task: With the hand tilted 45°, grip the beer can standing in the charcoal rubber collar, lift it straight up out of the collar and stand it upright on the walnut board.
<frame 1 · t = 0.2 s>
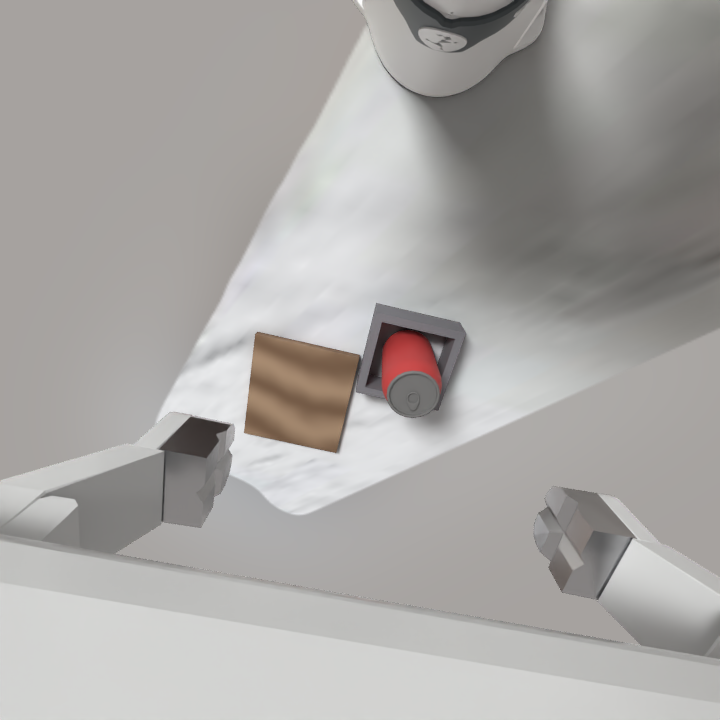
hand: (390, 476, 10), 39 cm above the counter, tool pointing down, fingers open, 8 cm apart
walnut board: (299, 394, 54), on the counter
can collar: (406, 351, 50), on the counter
beer can: (406, 350, 50), resting in can collar
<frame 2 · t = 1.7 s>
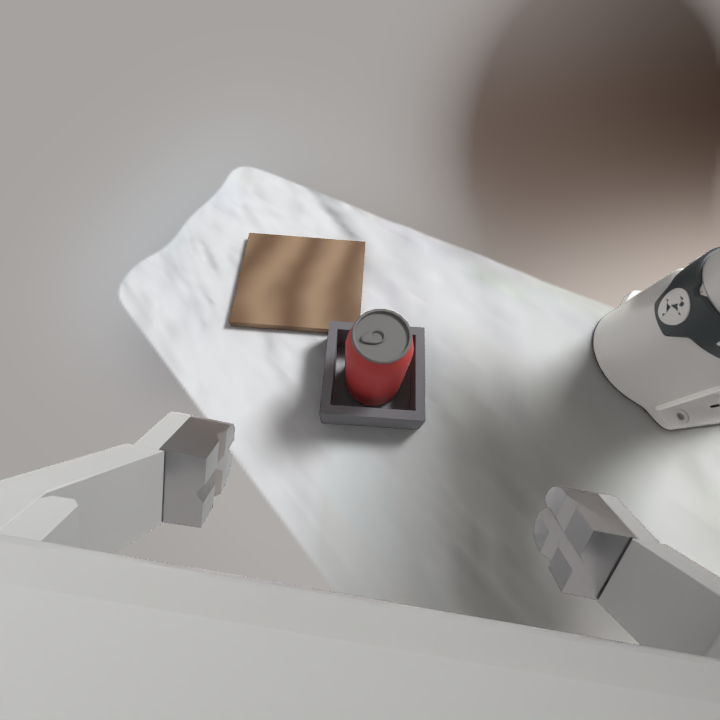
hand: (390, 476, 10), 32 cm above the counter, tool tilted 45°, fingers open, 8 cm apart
walnut board: (301, 283, 50), on the counter
can collar: (372, 380, 45), on the counter
beer can: (372, 381, 45), resting in can collar
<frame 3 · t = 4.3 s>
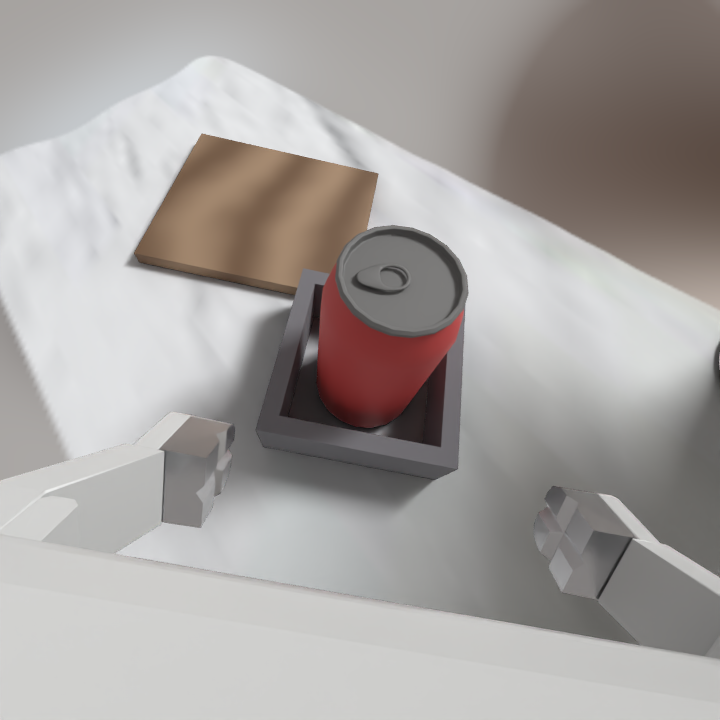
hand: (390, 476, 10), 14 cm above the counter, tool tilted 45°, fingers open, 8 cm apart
walnut board: (271, 218, 31), on the counter
can collar: (363, 383, 26), on the counter
beer can: (363, 384, 26), resting in can collar
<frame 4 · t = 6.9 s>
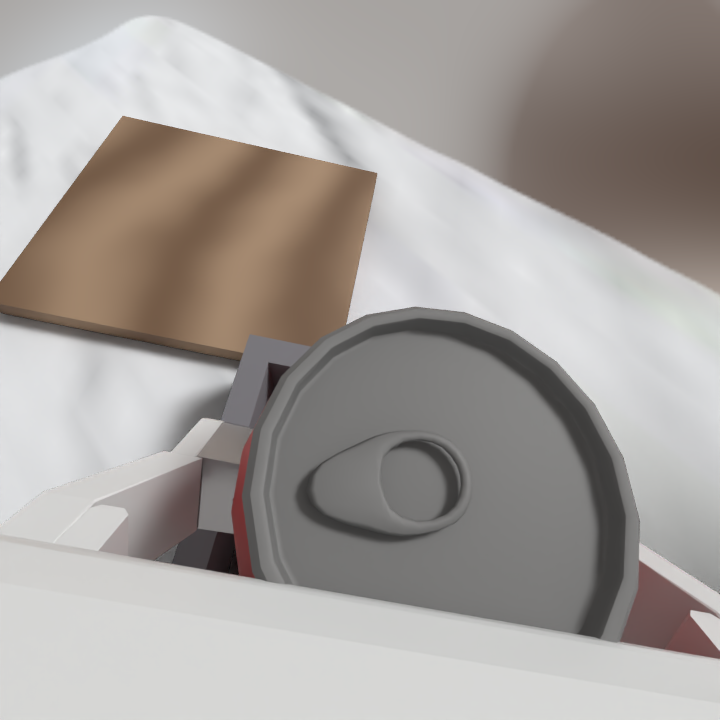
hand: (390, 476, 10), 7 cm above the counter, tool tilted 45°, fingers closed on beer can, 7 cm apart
walnut board: (218, 239, 21), on the counter
can collar: (354, 517, 16), on the counter
beer can: (353, 518, 16), resting in can collar, touching gripper
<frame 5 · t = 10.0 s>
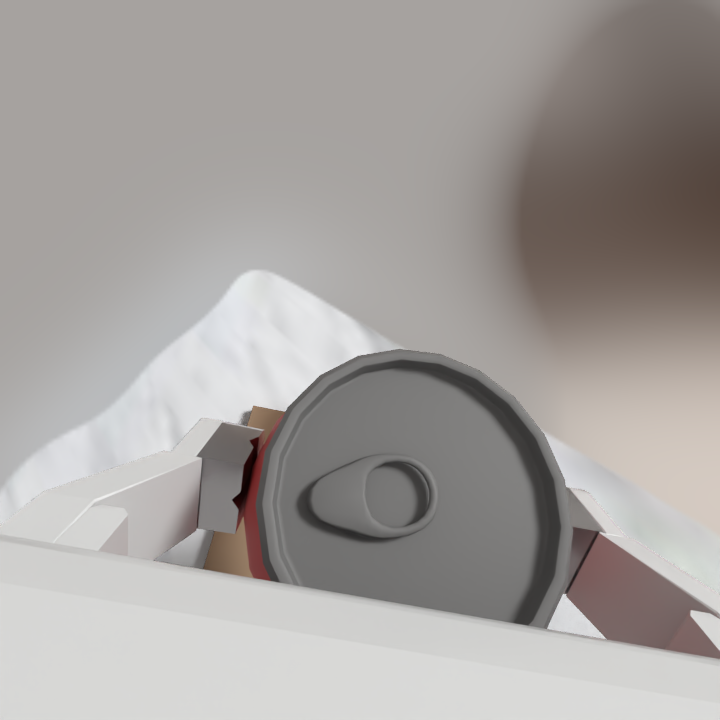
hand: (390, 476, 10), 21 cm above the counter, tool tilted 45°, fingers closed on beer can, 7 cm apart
walnut board: (334, 519, 28), on the counter
beer can: (349, 521, 17), point 11 cm above the counter, touching gripper
when the fingers open (10 cm above the counter, at t = 13.2 s): beer can stays where it is, resting on walnut board.
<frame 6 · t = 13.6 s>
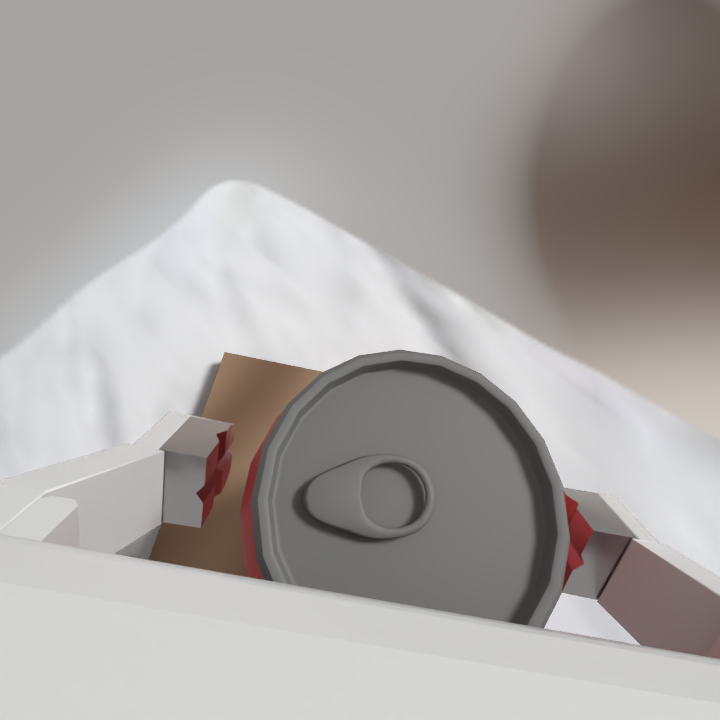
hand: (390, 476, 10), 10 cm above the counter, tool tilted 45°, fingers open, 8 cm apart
walnut board: (347, 521, 18), on the counter
beer can: (347, 521, 17), point 1 cm above the counter, touching walnut board
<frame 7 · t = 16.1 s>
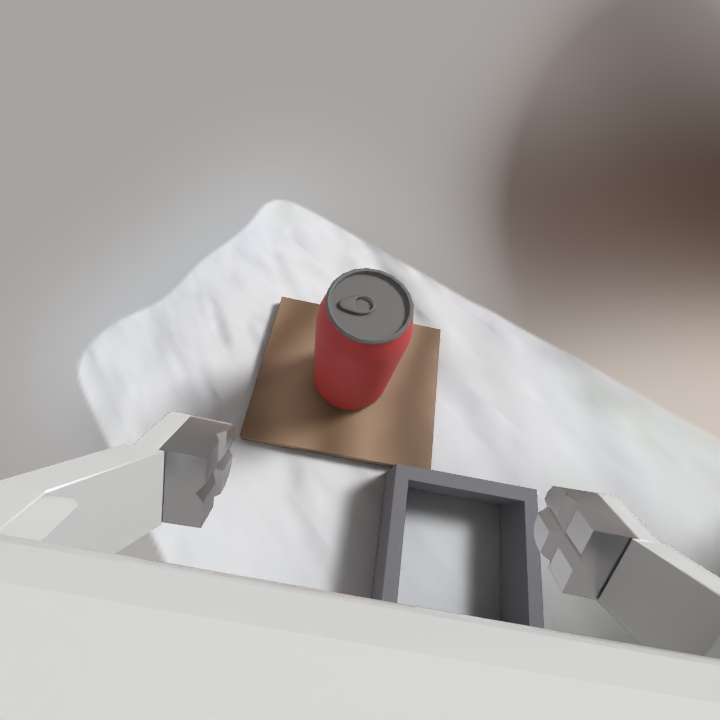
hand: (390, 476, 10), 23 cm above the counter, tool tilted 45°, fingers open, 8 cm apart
walnut board: (349, 381, 35), on the counter
can collar: (445, 555, 30), on the counter
beer can: (349, 378, 34), point 1 cm above the counter, touching walnut board
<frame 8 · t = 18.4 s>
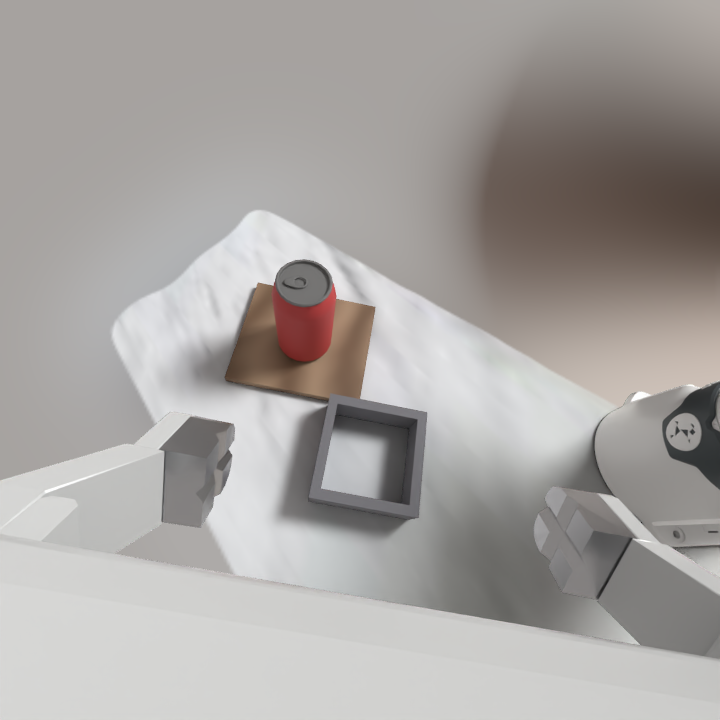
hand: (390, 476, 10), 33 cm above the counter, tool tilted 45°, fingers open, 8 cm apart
walnut board: (305, 343, 48), on the counter
can collar: (366, 459, 43), on the counter
beer can: (304, 340, 47), point 1 cm above the counter, touching walnut board
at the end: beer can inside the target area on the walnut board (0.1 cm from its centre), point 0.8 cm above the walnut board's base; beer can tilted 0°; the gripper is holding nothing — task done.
